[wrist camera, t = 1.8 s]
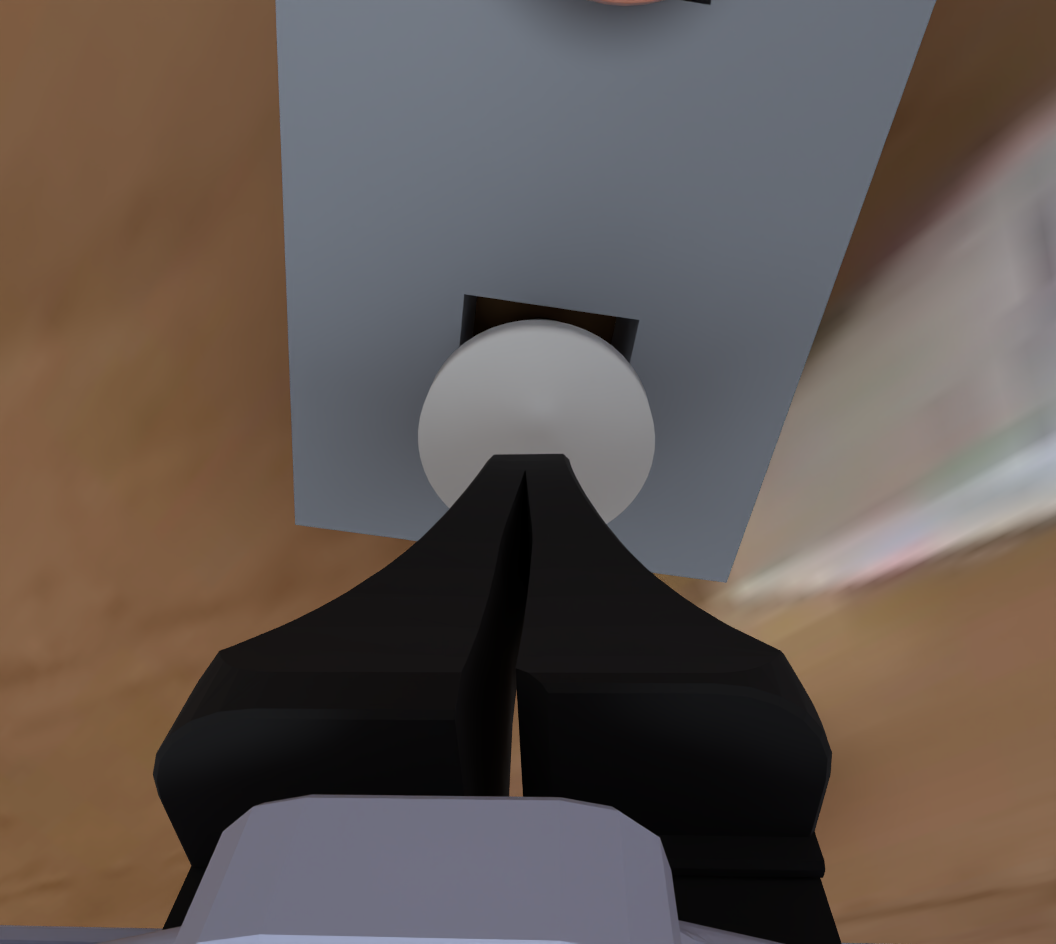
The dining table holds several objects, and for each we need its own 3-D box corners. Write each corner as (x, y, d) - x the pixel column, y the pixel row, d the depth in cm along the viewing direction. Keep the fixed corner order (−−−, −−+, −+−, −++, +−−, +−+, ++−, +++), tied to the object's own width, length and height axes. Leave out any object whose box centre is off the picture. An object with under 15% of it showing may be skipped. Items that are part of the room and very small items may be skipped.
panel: (983, -395, 13) (1138, -563, 9) (701, 504, 23) (726, 582, 20) (333, -517, 12) (247, -740, 9) (335, 454, 23) (295, 524, 19)
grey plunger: (655, 292, 17) (681, 353, 13) (615, 466, 19) (627, 556, 15) (453, 262, 16) (425, 315, 13) (438, 442, 19) (411, 527, 15)
